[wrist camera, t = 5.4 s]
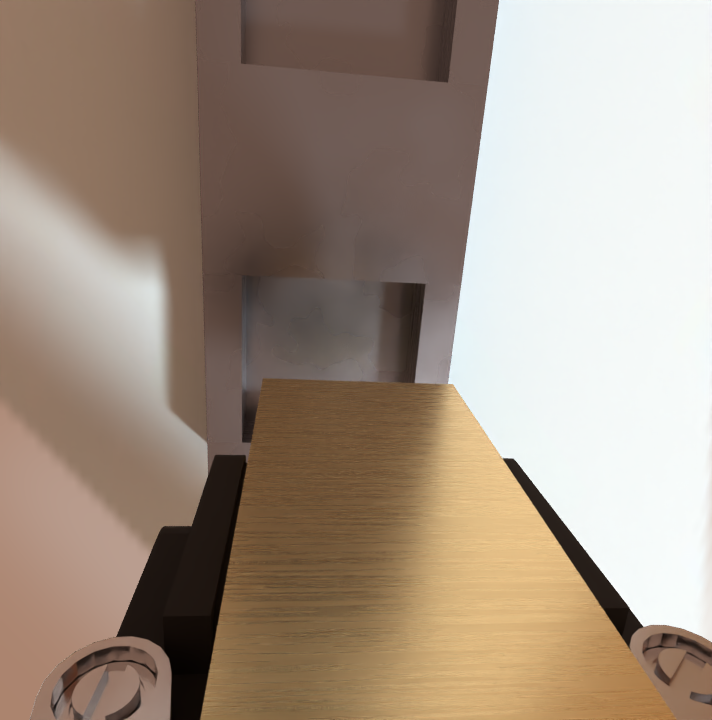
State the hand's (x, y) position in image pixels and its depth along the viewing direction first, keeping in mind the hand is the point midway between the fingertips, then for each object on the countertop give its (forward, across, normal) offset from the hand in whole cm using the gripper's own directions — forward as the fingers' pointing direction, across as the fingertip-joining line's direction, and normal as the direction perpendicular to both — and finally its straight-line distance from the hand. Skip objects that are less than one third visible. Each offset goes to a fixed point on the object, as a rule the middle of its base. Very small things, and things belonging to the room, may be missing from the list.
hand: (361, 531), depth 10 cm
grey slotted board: (+8, 0, -6) cm, 10 cm away
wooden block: (+2, 0, 0) cm, 2 cm away
